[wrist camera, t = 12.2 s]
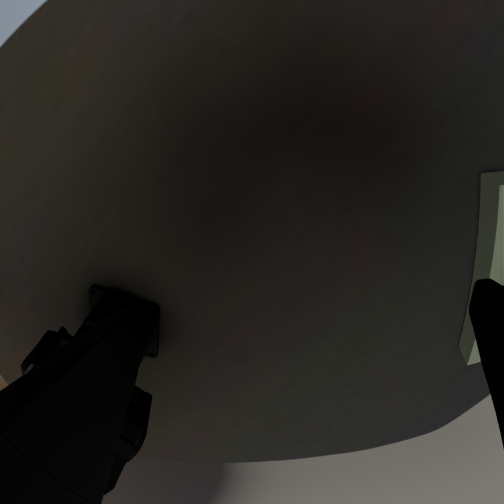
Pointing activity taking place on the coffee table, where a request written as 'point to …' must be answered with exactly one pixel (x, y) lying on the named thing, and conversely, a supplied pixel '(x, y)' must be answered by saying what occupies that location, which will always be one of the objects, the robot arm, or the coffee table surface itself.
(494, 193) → the sage board
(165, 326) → the coffee table surface
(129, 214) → the coffee table surface
